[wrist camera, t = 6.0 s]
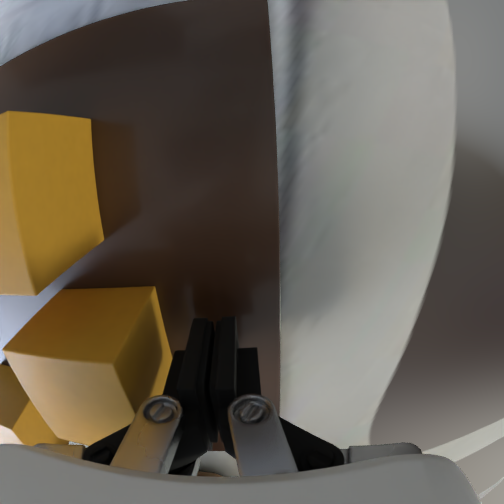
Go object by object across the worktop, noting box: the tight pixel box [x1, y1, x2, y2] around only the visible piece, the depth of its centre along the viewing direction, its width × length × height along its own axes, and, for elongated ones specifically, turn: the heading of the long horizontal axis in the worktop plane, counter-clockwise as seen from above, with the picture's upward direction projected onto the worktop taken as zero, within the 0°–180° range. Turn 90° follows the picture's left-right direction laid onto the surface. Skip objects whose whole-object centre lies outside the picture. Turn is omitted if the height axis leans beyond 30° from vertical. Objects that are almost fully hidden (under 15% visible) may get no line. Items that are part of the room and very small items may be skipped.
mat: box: [0, 0, 281, 451], centre depth 12 cm, size 24×20×1 cm
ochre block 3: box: [0, 364, 69, 446], centre depth 12 cm, size 5×5×5 cm
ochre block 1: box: [0, 111, 104, 296], centre depth 8 cm, size 5×5×5 cm
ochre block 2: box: [2, 286, 172, 446], centre depth 10 cm, size 5×5×5 cm
